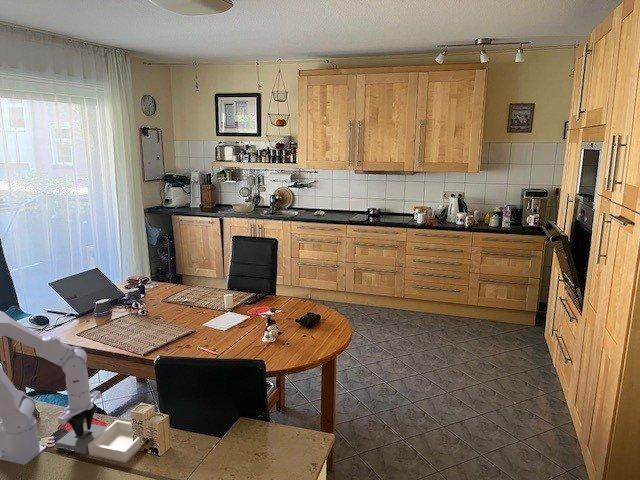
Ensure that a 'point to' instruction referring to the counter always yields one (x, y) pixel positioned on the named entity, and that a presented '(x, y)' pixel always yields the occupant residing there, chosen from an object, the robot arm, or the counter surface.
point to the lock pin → (84, 430)
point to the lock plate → (78, 444)
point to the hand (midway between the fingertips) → (83, 432)
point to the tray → (115, 443)
